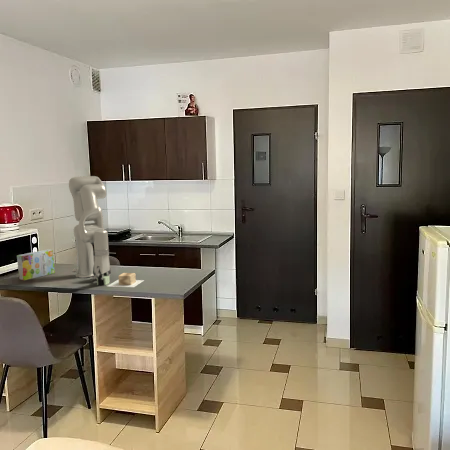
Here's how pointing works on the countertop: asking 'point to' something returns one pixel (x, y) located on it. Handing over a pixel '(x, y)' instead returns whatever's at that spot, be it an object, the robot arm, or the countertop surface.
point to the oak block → (127, 278)
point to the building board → (116, 284)
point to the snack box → (35, 264)
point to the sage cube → (105, 280)
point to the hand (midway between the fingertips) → (103, 284)
